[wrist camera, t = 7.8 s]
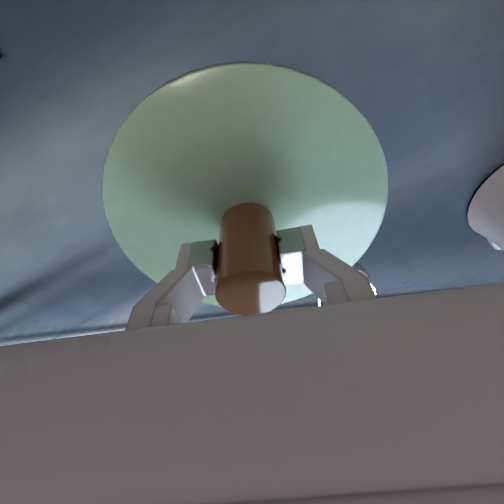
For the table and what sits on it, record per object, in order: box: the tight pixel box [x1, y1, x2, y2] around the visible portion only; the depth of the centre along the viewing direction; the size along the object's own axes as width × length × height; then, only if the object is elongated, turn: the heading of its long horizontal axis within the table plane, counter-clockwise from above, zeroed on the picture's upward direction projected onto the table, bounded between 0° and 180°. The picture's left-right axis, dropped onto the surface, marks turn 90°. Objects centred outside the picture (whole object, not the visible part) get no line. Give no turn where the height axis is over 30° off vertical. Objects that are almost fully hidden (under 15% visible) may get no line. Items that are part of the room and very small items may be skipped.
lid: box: [102, 61, 389, 315], centre depth 12 cm, size 13×13×5 cm
